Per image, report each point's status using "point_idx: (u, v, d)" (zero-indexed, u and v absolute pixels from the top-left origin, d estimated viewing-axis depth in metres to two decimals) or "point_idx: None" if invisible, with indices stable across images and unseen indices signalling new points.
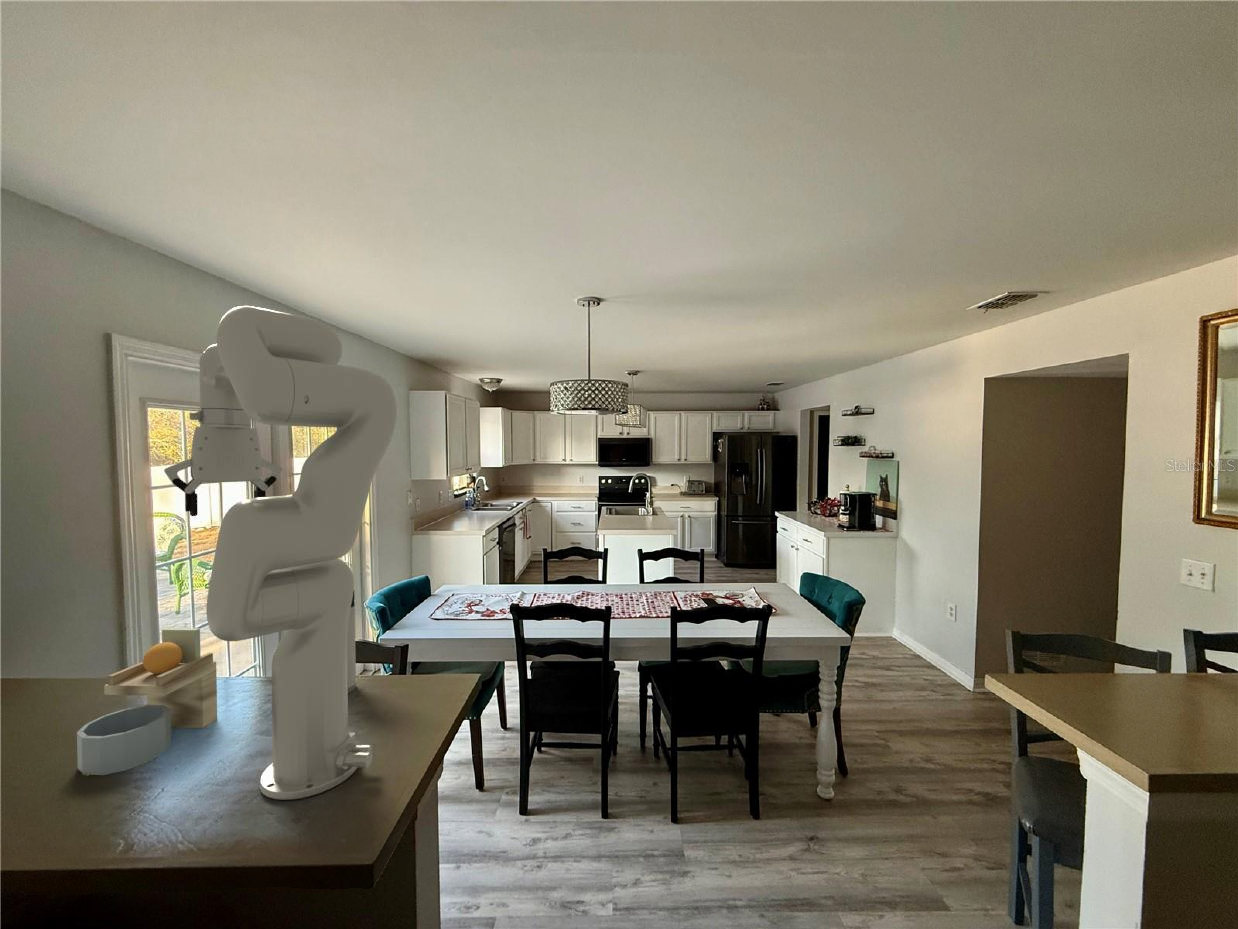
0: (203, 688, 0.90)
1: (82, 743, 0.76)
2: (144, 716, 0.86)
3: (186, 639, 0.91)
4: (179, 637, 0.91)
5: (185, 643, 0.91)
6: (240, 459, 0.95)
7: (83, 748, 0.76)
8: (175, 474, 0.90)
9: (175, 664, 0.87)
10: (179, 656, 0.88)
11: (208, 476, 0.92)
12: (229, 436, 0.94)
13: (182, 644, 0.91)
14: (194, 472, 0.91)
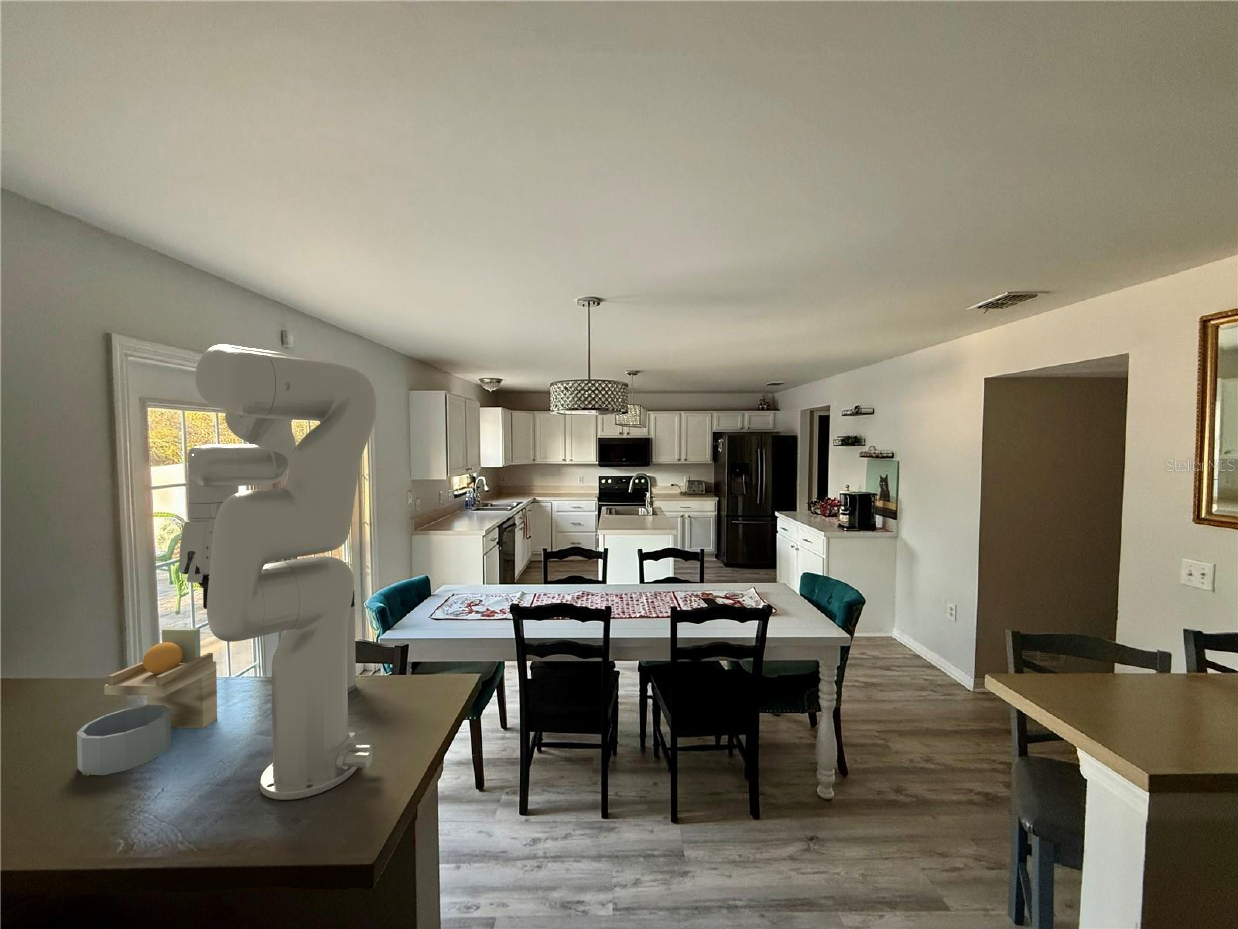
0: (203, 688, 0.90)
1: (82, 743, 0.76)
2: (144, 716, 0.86)
3: (186, 639, 0.91)
4: (179, 637, 0.91)
5: (185, 643, 0.91)
6: None
7: (83, 748, 0.76)
8: None
9: (175, 664, 0.87)
10: (179, 656, 0.88)
11: None
12: None
13: (182, 644, 0.91)
14: None
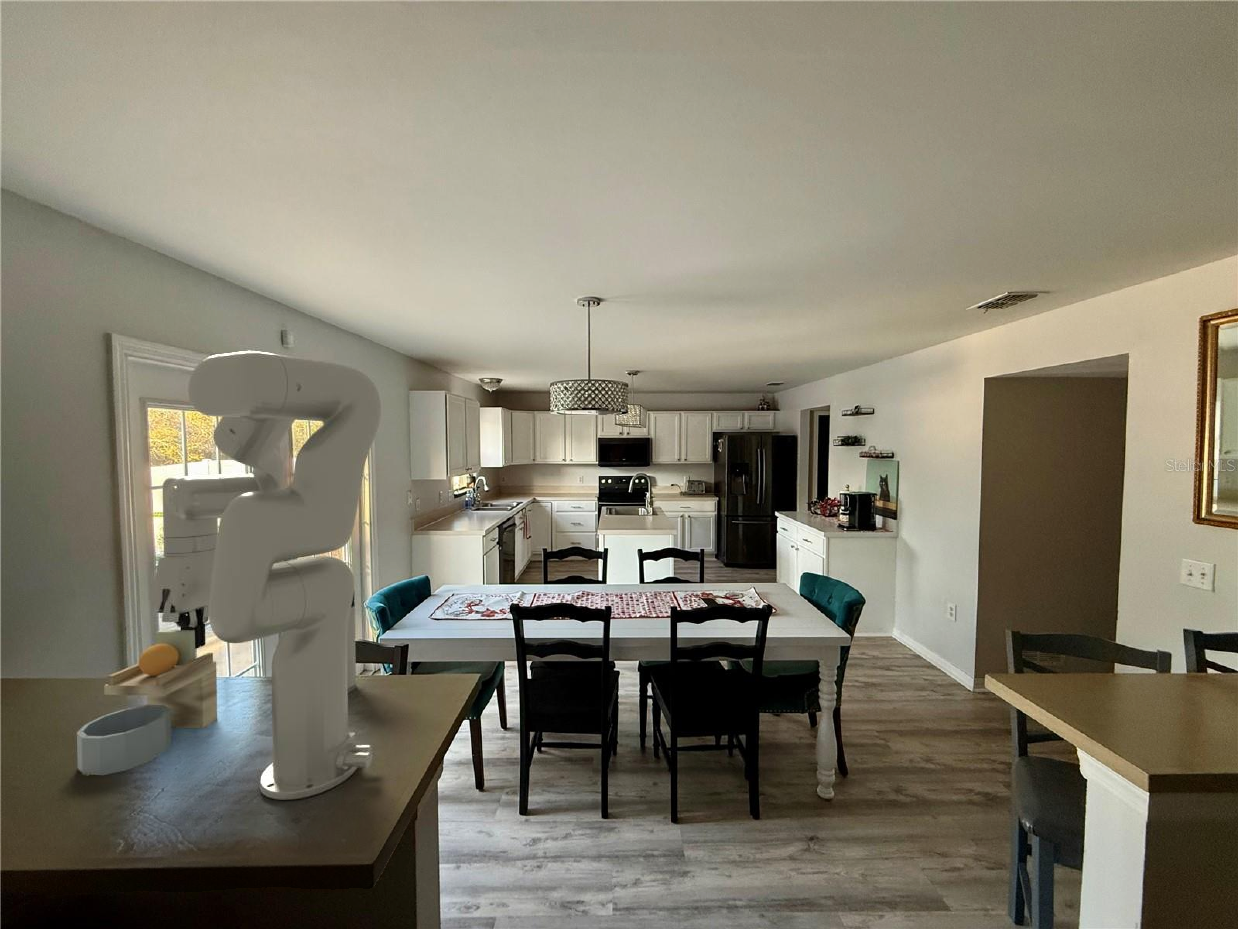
0: (203, 688, 0.90)
1: (82, 743, 0.76)
2: (144, 716, 0.86)
3: (180, 641, 0.89)
4: (173, 639, 0.90)
5: (179, 645, 0.90)
6: None
7: (83, 748, 0.76)
8: None
9: (173, 665, 0.87)
10: (175, 657, 0.87)
11: None
12: None
13: (176, 646, 0.90)
14: None
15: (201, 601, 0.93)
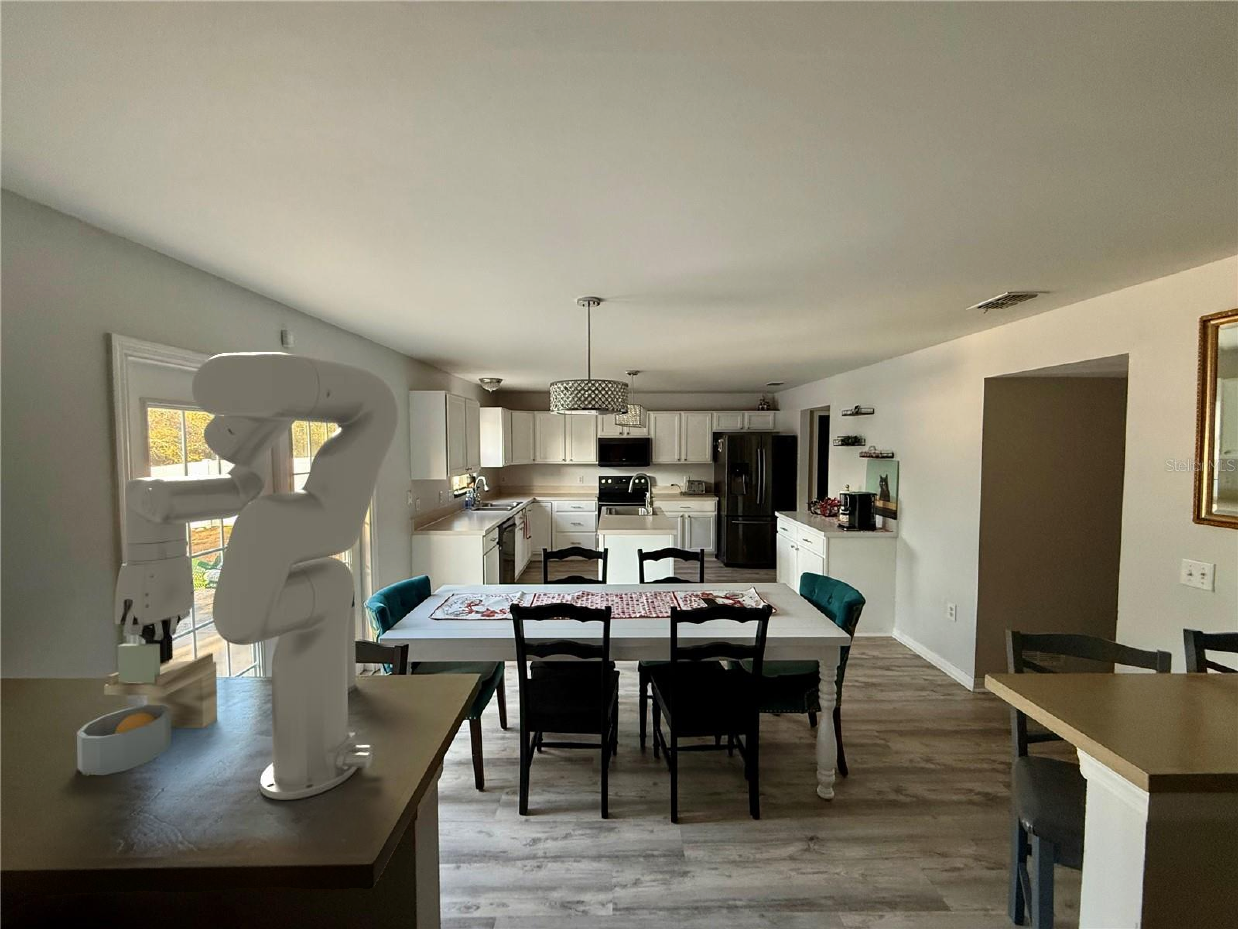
0: (203, 688, 0.90)
1: (82, 743, 0.76)
2: None
3: (144, 656, 0.83)
4: (136, 654, 0.83)
5: (143, 660, 0.83)
6: None
7: (83, 748, 0.76)
8: None
9: None
10: None
11: None
12: None
13: (140, 661, 0.83)
14: None
15: (167, 612, 0.86)
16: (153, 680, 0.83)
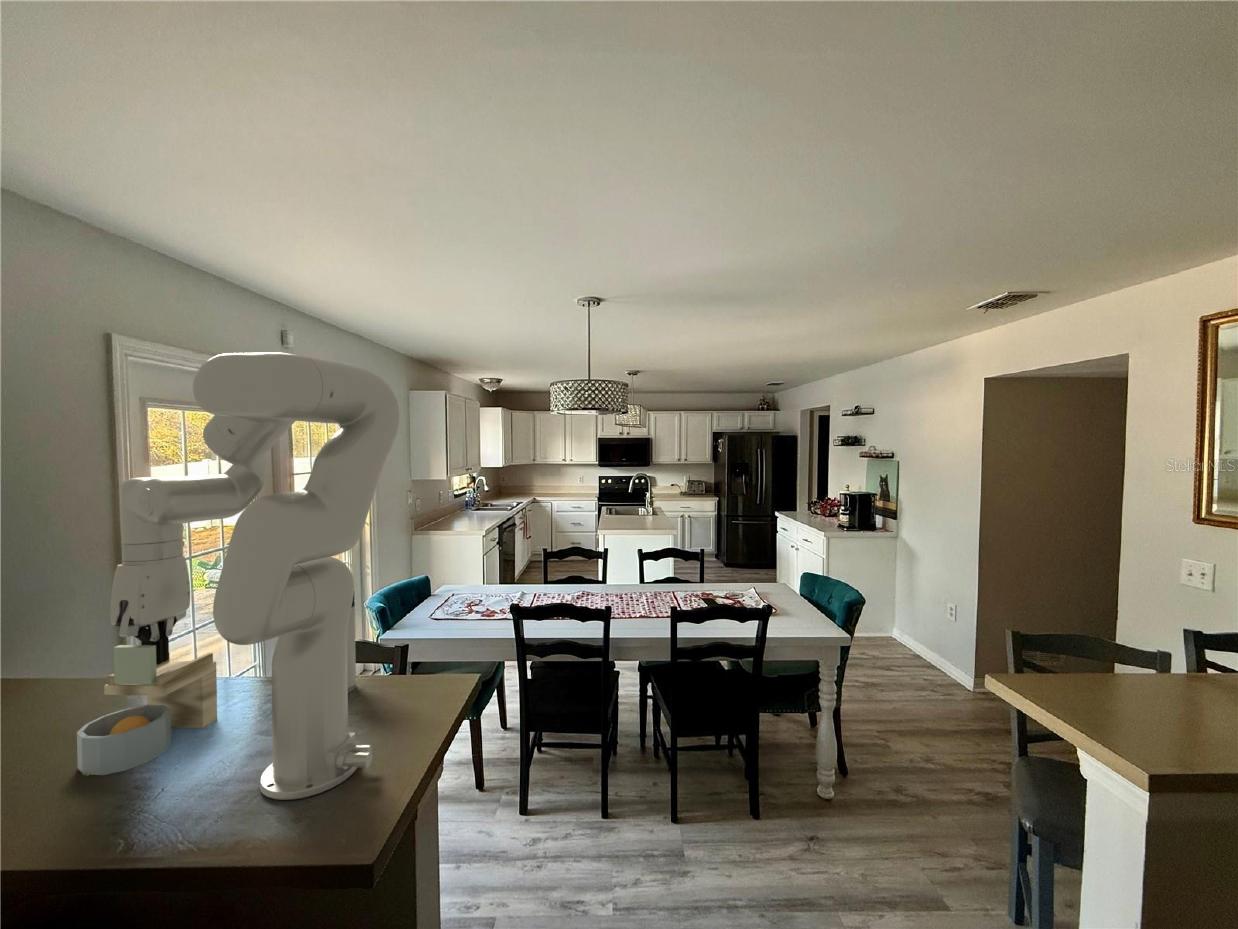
0: (203, 688, 0.90)
1: (82, 743, 0.76)
2: (144, 716, 0.86)
3: (140, 657, 0.82)
4: (132, 655, 0.82)
5: (139, 662, 0.82)
6: None
7: (83, 748, 0.76)
8: None
9: None
10: None
11: None
12: None
13: (136, 663, 0.82)
14: None
15: (164, 613, 0.86)
16: (149, 682, 0.82)
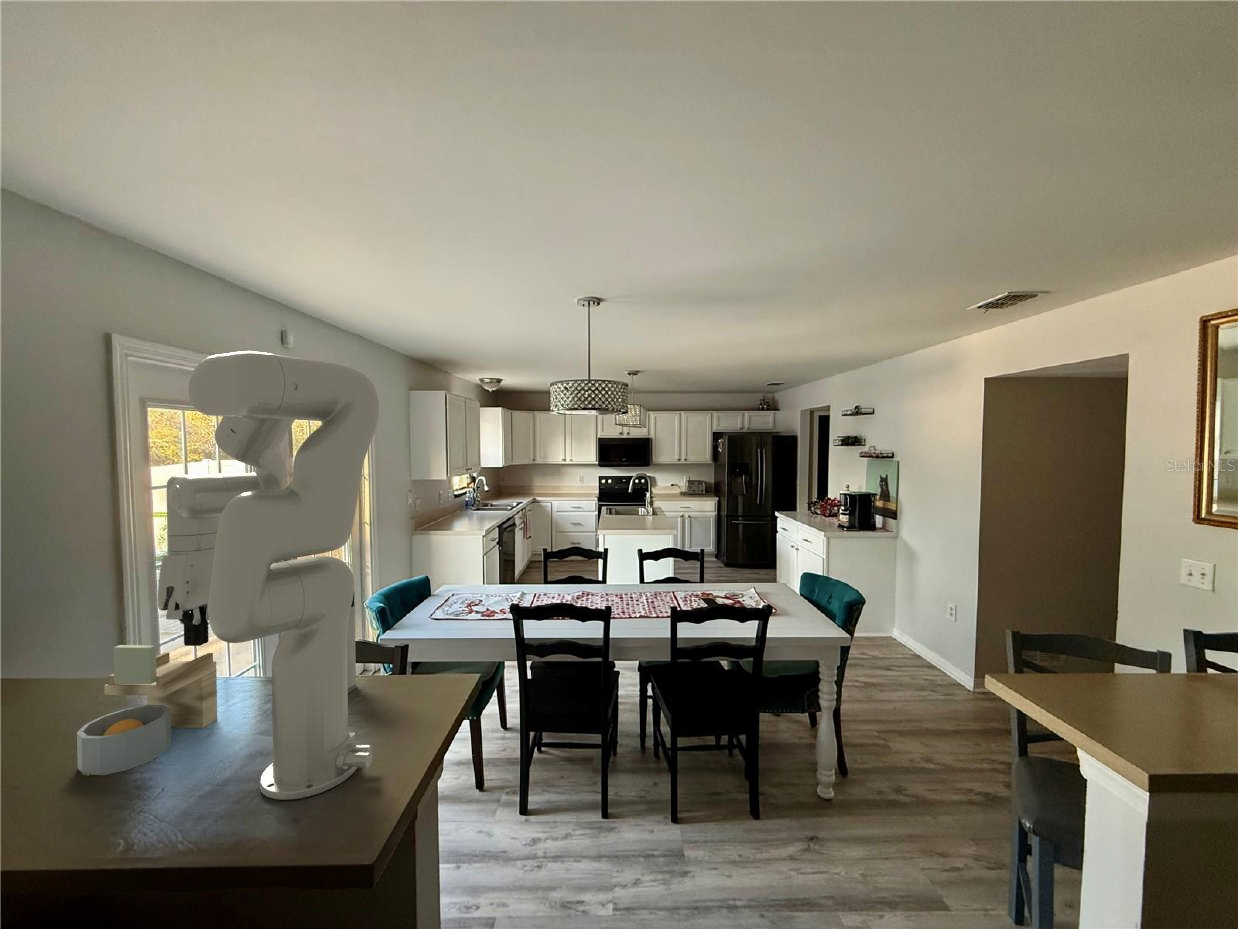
0: (203, 688, 0.90)
1: (82, 743, 0.76)
2: (144, 716, 0.86)
3: (140, 657, 0.82)
4: (132, 655, 0.82)
5: (139, 662, 0.82)
6: None
7: (83, 748, 0.76)
8: None
9: None
10: None
11: None
12: None
13: (136, 663, 0.82)
14: None
15: (204, 599, 0.94)
16: (149, 682, 0.82)
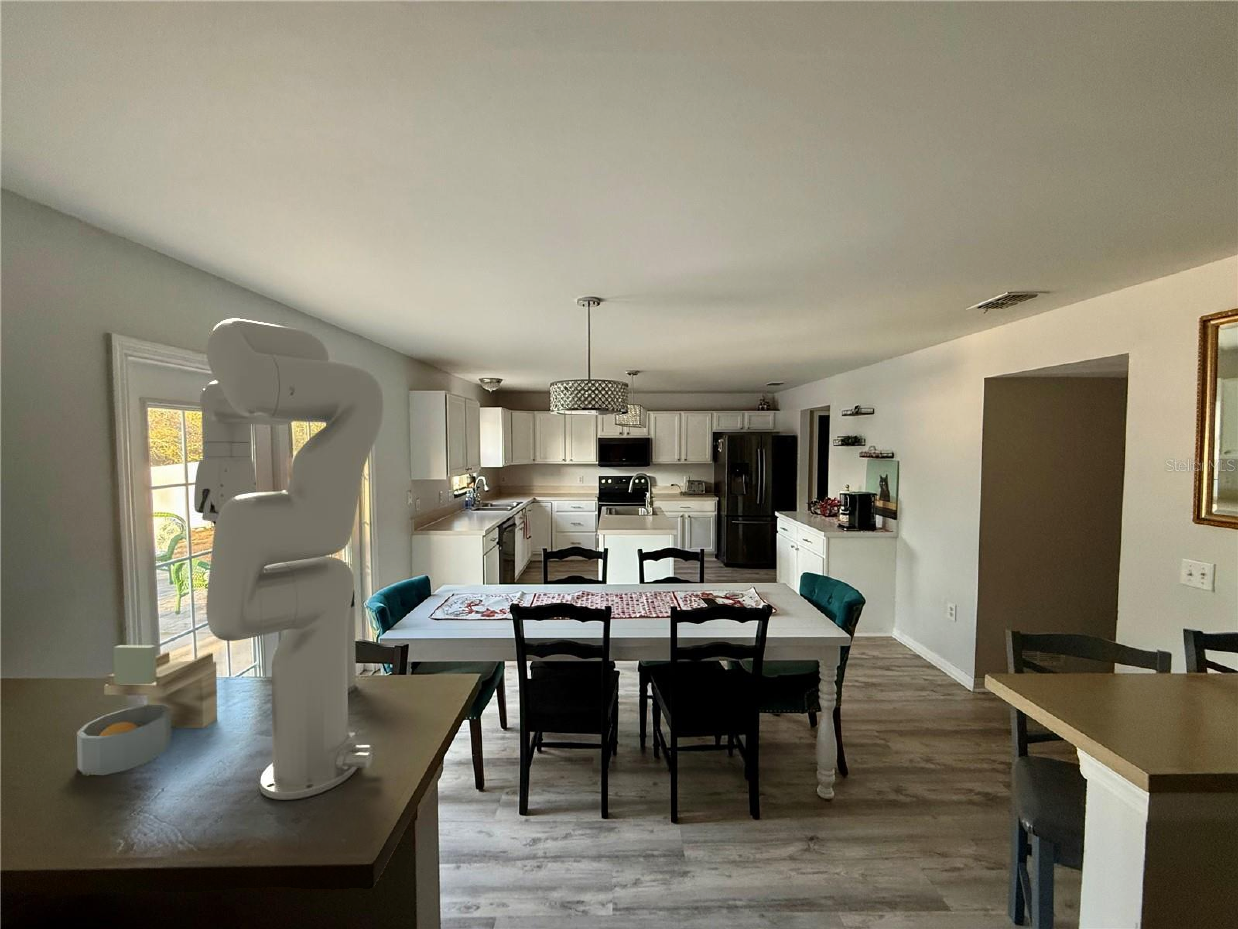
0: (203, 688, 0.90)
1: (82, 743, 0.76)
2: (144, 716, 0.86)
3: (140, 657, 0.82)
4: (132, 655, 0.82)
5: (139, 662, 0.82)
6: None
7: (83, 748, 0.76)
8: None
9: None
10: None
11: None
12: None
13: (136, 663, 0.82)
14: None
15: None
16: (149, 682, 0.82)
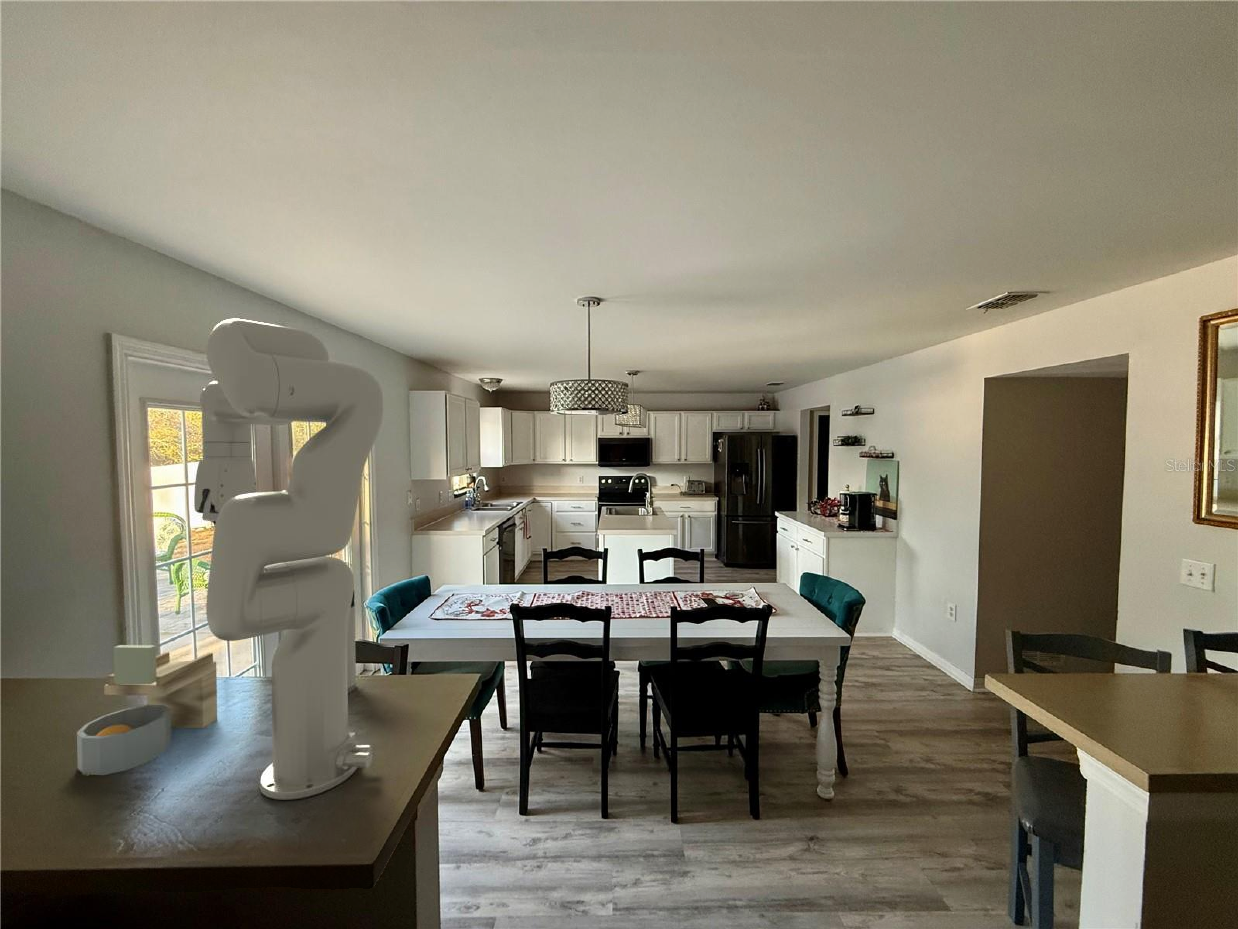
0: (203, 688, 0.90)
1: (82, 743, 0.76)
2: (144, 716, 0.86)
3: (140, 657, 0.82)
4: (132, 655, 0.82)
5: (139, 662, 0.82)
6: None
7: (83, 748, 0.76)
8: None
9: None
10: None
11: None
12: None
13: (136, 663, 0.82)
14: None
15: None
16: (149, 682, 0.82)
